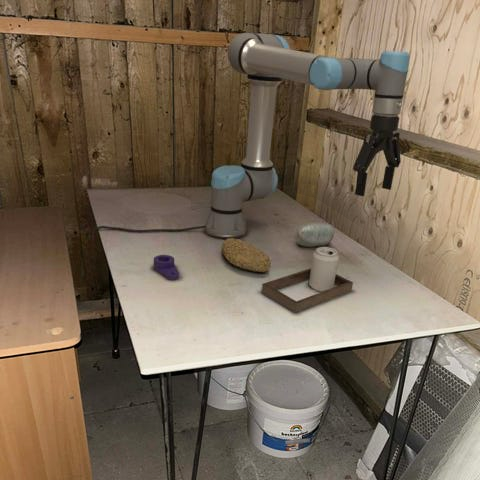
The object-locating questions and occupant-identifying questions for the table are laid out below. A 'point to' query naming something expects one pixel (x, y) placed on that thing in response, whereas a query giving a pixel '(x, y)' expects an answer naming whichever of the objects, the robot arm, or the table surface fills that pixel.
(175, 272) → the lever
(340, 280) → the walnut frame
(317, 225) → the streaked grey-green pebble
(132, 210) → the table surface
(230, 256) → the sponge
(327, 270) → the can
